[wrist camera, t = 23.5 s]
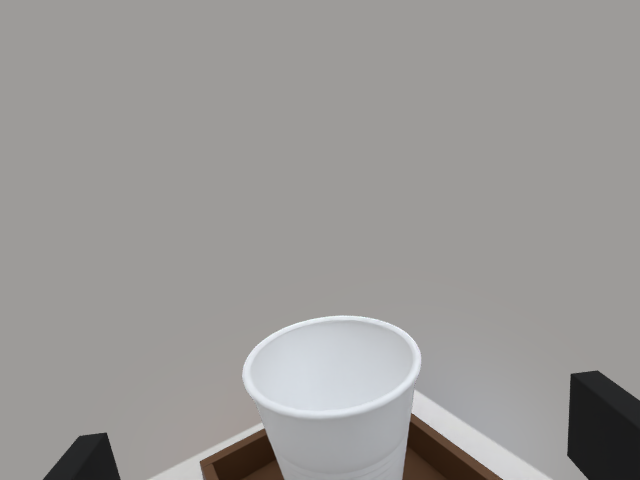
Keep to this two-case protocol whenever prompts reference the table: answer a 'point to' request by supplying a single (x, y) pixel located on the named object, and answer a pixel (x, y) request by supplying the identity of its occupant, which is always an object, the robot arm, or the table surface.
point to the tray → (418, 473)
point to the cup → (336, 397)
